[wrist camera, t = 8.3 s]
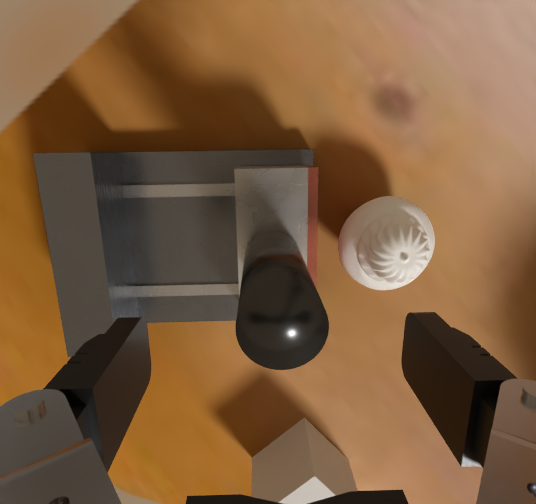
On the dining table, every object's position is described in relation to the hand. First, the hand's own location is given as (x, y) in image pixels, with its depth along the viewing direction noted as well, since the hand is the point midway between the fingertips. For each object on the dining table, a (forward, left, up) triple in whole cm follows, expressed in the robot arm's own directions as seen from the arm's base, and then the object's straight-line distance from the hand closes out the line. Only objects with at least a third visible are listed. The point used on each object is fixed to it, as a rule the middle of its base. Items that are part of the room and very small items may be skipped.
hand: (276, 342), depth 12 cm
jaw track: (0, -5, -16) cm, 17 cm away
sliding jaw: (0, +1, -14) cm, 14 cm away
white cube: (+20, +3, -17) cm, 26 cm away
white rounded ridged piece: (0, +8, -17) cm, 18 cm away
